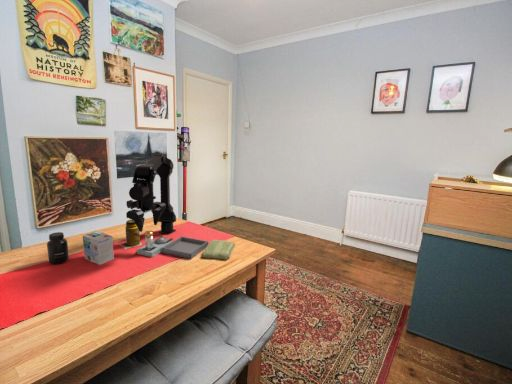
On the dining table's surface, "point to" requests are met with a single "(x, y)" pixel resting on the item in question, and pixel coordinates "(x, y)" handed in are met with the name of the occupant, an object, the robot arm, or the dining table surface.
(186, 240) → the tray
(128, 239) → the condiment
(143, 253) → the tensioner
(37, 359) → the dining table surface
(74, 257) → the dining table surface
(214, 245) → the washcloth
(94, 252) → the light bulb box
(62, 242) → the supplement bottle
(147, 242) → the lock pin
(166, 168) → the robot arm
